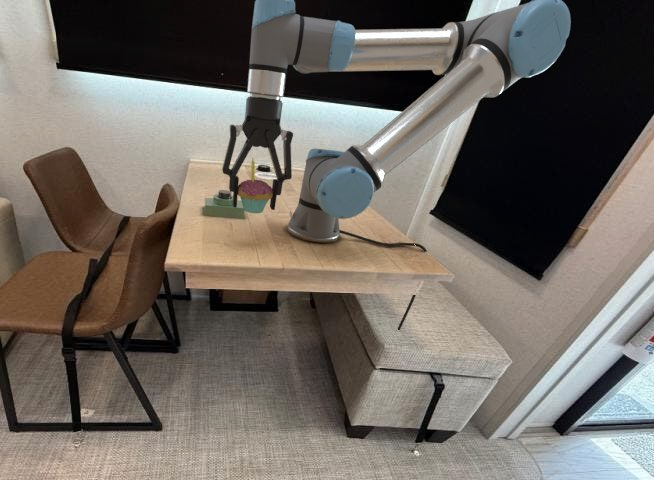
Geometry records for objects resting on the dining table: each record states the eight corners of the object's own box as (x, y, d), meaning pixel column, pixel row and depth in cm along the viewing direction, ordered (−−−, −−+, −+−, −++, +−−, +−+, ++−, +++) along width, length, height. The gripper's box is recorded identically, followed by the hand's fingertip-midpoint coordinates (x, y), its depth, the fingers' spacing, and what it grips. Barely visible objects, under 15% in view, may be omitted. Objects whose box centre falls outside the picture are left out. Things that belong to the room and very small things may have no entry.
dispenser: (241, 210, 108) (242, 195, 106) (243, 218, 102) (245, 202, 99) (204, 207, 106) (205, 191, 104) (204, 215, 100) (205, 198, 97)
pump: (230, 197, 104) (231, 190, 103) (231, 200, 100) (231, 194, 99) (217, 196, 103) (218, 189, 102) (218, 199, 100) (218, 192, 99)
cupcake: (256, 218, 74) (262, 162, 68) (228, 208, 78) (231, 154, 72) (276, 211, 81) (284, 159, 74) (249, 203, 84) (254, 152, 78)
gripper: (309, 103, 72) (292, 205, 84) (212, 90, 68) (208, 199, 80) (319, 104, 66) (299, 214, 78) (213, 90, 62) (209, 208, 74)
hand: (253, 206), depth 79 cm, fingers closed on cupcake, 8 cm apart
